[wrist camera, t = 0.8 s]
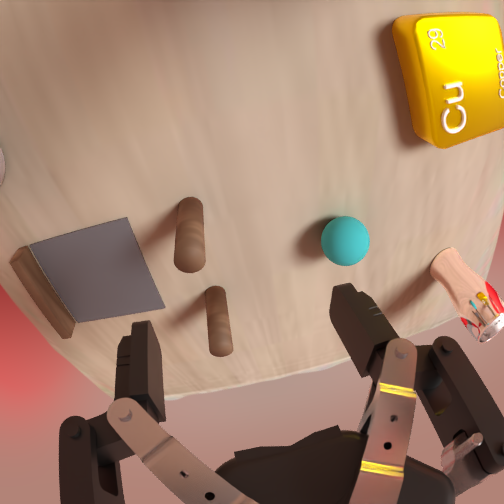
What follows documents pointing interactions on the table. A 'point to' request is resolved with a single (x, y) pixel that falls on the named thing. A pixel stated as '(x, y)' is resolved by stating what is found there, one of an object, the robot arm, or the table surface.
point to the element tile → (452, 74)
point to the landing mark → (99, 271)
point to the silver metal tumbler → (469, 295)
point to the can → (2, 167)
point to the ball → (345, 241)
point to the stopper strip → (42, 292)
